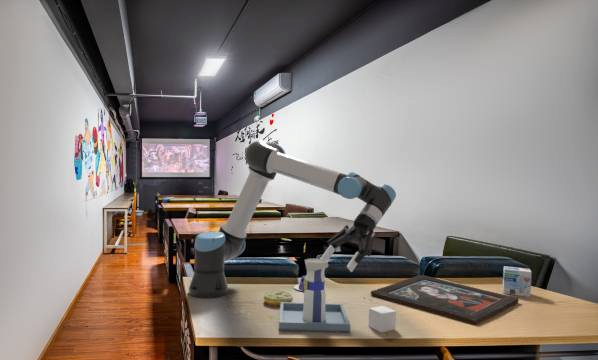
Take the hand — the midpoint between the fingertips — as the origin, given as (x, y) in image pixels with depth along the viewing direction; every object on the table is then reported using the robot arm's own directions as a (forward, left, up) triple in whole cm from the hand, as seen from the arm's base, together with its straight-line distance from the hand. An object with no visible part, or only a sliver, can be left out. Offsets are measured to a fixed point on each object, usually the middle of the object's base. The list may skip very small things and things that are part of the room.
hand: (335, 265), depth 145 cm
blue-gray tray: (-7, -5, -17) cm, 20 cm away
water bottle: (-7, -5, -17) cm, 19 cm away
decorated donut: (-19, +13, -18) cm, 29 cm away
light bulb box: (+83, +35, -18) cm, 91 cm away
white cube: (+15, -10, -18) cm, 25 cm away
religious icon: (+47, +24, -18) cm, 55 cm away
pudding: (-7, +33, -18) cm, 38 cm away
